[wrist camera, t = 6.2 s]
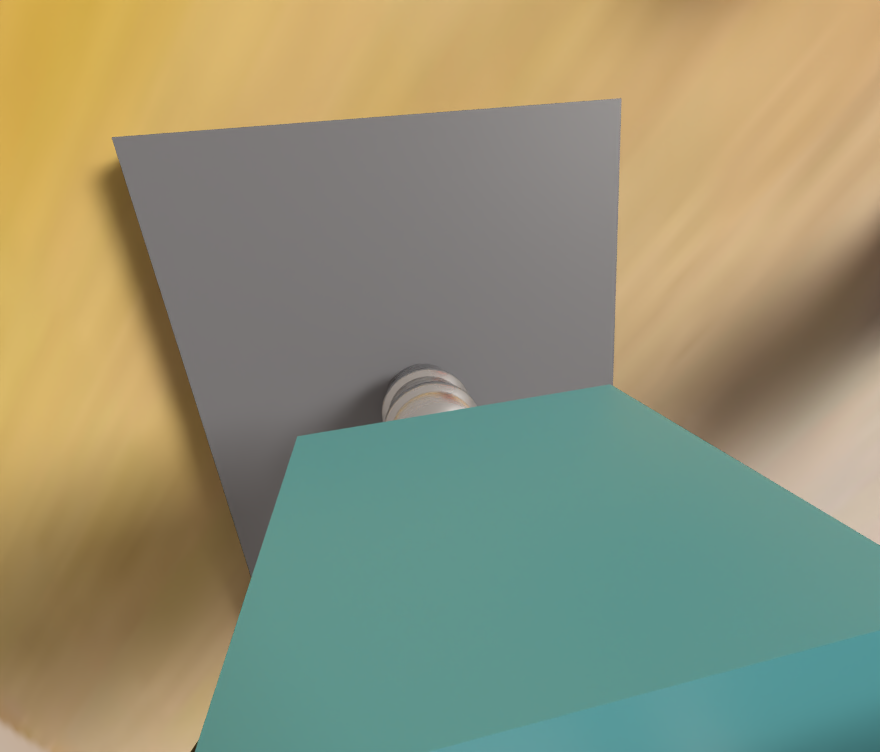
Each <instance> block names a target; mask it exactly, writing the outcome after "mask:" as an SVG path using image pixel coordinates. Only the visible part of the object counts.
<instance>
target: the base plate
mask: <svg viewBox="0 0 880 752" xmlns="http://www.w3.org/2000/svg"><path fill="white" fill-rule="evenodd" d="M620 128H621V98H620V99H607V100H594V101H581V102H568V103H555V104H542V105H528V106H515V107H502V108H489V109H476V110H463V111H450V112H437V113H424V114H411V115H398V116H385V117H372V118H359V119H345V120H332V121H319V122H306V123H293V124H280V125H267V126H254V127H241V128H228V129H215V130H202V131H189V132H176V133H162V134H149V135H136V136H123V137H112V140H113V143H114V146H115V149H116V153H117V156H118V159H119V162H120V165H121V168H122V172H123V175H124V178H125V181H126V184H127V187H128V190H129V194H130V197H131V200H132V203H133V206H134V209H135V212H136V216H137V219H138V222H139V225H140V228H141V231H142V235H143V238H144V241H145V244H146V247H147V250H148V253H149V257H150V260H151V263H152V266H153V269H154V272H155V276H156V279H157V282H158V285H159V288H160V291H161V294H162V298H163V301H164V304H165V307H166V310H167V313H168V317H169V320H170V323H171V326H172V329H173V332H174V335H175V339H176V342H177V345H178V348H179V351H180V354H181V358H182V361H183V364H184V367H185V370H186V373H187V376H188V380H189V383H190V386H191V389H192V392H193V395H194V399H195V402H196V405H197V408H198V411H199V414H200V417H201V421H202V424H203V427H204V430H205V433H206V436H207V440H208V443H209V446H210V449H211V452H212V455H213V458H214V462H215V465H216V468H217V471H218V474H219V477H220V480H221V484H222V487H223V490H224V493H225V496H226V499H227V503H228V506H229V509H230V512H231V515H232V518H233V521H234V525H235V528H236V531H237V534H238V537H239V540H240V544H241V547H242V550H243V553H244V556H245V559H246V562H247V566H248V569H249V572H250V575H251V577H252V574H253V571H254V568H255V565H256V562H257V559H258V556H259V553H260V550H261V547H262V544H263V541H264V537H265V534H266V531H267V528H268V525H269V522H270V519H271V516H272V513H273V510H274V507H275V504H276V500H277V497H278V494H279V491H280V488H281V485H282V482H283V479H284V476H285V473H286V470H287V467H288V464H289V460H290V457H291V454H292V451H293V448H294V445H295V442H296V439H297V436H302V435H308V434H314V433H320V432H326V431H332V430H338V429H344V428H350V427H356V426H363V425H369V424H375V423H381V422H383V420H382V404H383V400H384V397H385V395H386V393H387V389H388V386H389V384H390V382H391V381H392V379H393V378H394V377H395V376H396V375H397V374H398V373H399V372H400V371H402V370H403V369H405V368H407V367H409V366H412V365H416V364H431V365H435V366H437V367H440V368H441V369H443V370H444V371H446V372H449V373H450V374H452V375H454V376H455V377H456V378H457V379H458V380H459V381H460V382H461V383H462V384H463V386H464V387H465V389H466V390H467V392H468V394H469V396H470V397H471V398H472V399H473V401H474V402H475V404H476V405H477V406H483V405H489V404H495V403H501V402H507V401H513V400H519V399H525V398H531V397H537V396H543V395H549V394H555V393H561V392H567V391H573V390H579V389H585V388H591V387H597V386H603V385H609V384H610V385H612V386H613V363H614V329H615V296H616V262H617V229H618V195H619V161H620Z"/></svg>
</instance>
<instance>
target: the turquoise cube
mask: <svg viewBox="0 0 880 752" xmlns="http://www.w3.org/2000/svg"><path fill="white" fill-rule="evenodd" d="M195 752H880V545H878V544H876V543H875V542H873V541H871V540H870V539H868V538H866V537H865V536H863V535H861V534H860V533H858V532H856V531H855V530H853V529H851V528H850V527H848V526H846V525H845V524H843V523H841V522H840V521H838V520H836V519H835V518H833V517H831V516H830V515H828V514H826V513H825V512H823V511H821V510H820V509H818V508H816V507H815V506H813V505H811V504H810V503H808V502H806V501H804V500H803V499H801V498H799V497H798V496H796V495H794V494H793V493H791V492H789V491H788V490H786V489H784V488H783V487H781V486H779V485H778V484H776V483H774V482H773V481H771V480H769V479H768V478H766V477H764V476H763V475H761V474H759V473H758V472H756V471H754V470H753V469H751V468H749V467H748V466H746V465H744V464H743V463H741V462H739V461H738V460H736V459H734V458H733V457H731V456H729V455H728V454H726V453H724V452H723V451H721V450H719V449H717V448H716V447H714V446H712V445H711V444H709V443H707V442H706V441H704V440H702V439H701V438H699V437H697V436H696V435H694V434H692V433H691V432H689V431H687V430H686V429H684V428H682V427H681V426H679V425H677V424H676V423H674V422H672V421H671V420H669V419H667V418H666V417H664V416H662V415H661V414H659V413H657V412H656V411H654V410H652V409H651V408H649V407H647V406H646V405H644V404H642V403H641V402H639V401H637V400H636V399H634V398H632V397H630V396H629V395H627V394H625V393H624V392H622V391H620V390H619V389H617V388H615V387H614V386H612V385H610V384H609V385H603V386H597V387H591V388H585V389H579V390H573V391H567V392H561V393H555V394H549V395H543V396H537V397H531V398H525V399H519V400H513V401H507V402H501V403H495V404H489V405H483V406H477V407H471V408H465V409H459V410H453V411H447V412H441V413H435V414H429V415H423V416H417V417H411V418H405V419H399V420H393V421H387V422H381V423H375V424H369V425H363V426H356V427H350V428H344V429H338V430H332V431H326V432H320V433H314V434H308V435H302V436H297V439H296V442H295V445H294V448H293V451H292V454H291V457H290V460H289V464H288V467H287V470H286V473H285V476H284V479H283V482H282V485H281V488H280V491H279V494H278V497H277V500H276V504H275V507H274V510H273V513H272V516H271V519H270V522H269V525H268V528H267V531H266V534H265V537H264V541H263V544H262V547H261V550H260V553H259V556H258V559H257V562H256V565H255V568H254V571H253V574H252V577H251V581H250V584H249V587H248V590H247V593H246V596H245V599H244V602H243V605H242V608H241V611H240V614H239V618H238V621H237V624H236V627H235V630H234V633H233V636H232V639H231V642H230V645H229V648H228V651H227V654H226V658H225V661H224V664H223V667H222V670H221V673H220V676H219V679H218V682H217V685H216V688H215V691H214V695H213V698H212V701H211V704H210V707H209V710H208V713H207V716H206V719H205V722H204V725H203V728H202V731H201V735H200V738H199V741H198V744H197V747H196V750H195Z"/></svg>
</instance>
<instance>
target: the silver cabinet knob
mask: <svg viewBox="0 0 880 752" xmlns="http://www.w3.org/2000/svg"><path fill="white" fill-rule="evenodd" d="M471 407H477V405H476V404H475V402H474V401H473V399H472V398H471V397H470V396H469V394H468V392H467V390H466V389H465V387H464V386H463V384H462V383H461V382H460V381H459V380H458V379H457V378H456V377H455V376H454V375H452V374H450V373H449V372H446V371H444V370H443V369H441V368H440V367H437V366H435V365H431V364H416V365H412V366H409V367H407V368H405V369H403V370H402V371H400V372H399V373H398V374H397V375H396V376H395V377H394V378H393V379H392V381H391V382H390V384H389V386H388V389H387V393H386V395H385V397H384V400H383V404H382V420H383V422H387V421H393V420H399V419H405V418H411V417H417V416H423V415H429V414H435V413H441V412H447V411H453V410H459V409H465V408H471Z"/></svg>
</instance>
